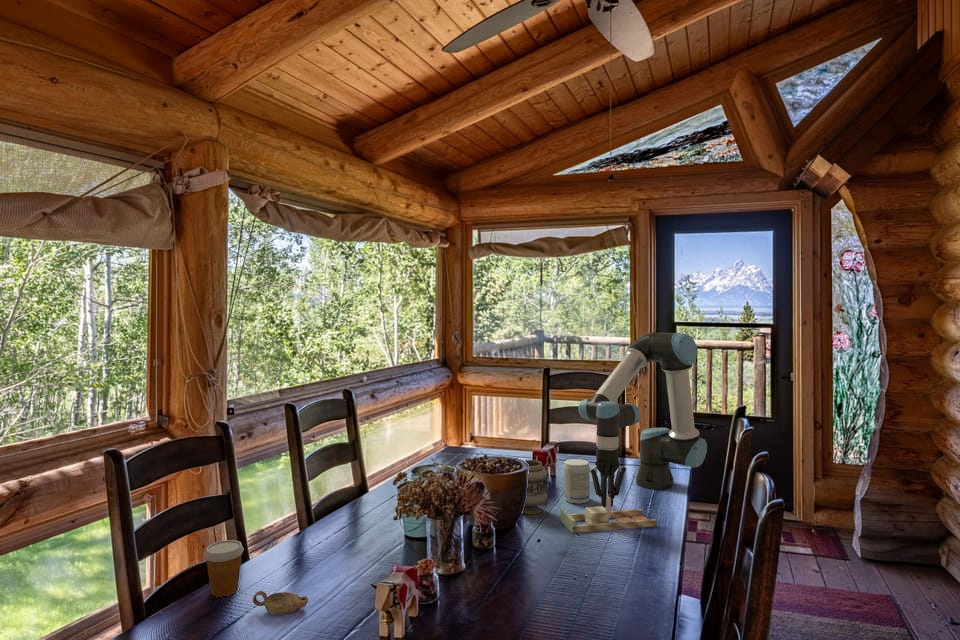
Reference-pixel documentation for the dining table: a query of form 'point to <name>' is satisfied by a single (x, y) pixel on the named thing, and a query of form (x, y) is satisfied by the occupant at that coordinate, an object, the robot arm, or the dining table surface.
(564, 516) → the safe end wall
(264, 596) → the oil lamp
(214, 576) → the disposable coffee cup
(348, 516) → the dining table surface
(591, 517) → the birch block
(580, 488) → the supplement tub
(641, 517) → the trap pads
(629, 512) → the channel rails
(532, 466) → the apothecary jar
